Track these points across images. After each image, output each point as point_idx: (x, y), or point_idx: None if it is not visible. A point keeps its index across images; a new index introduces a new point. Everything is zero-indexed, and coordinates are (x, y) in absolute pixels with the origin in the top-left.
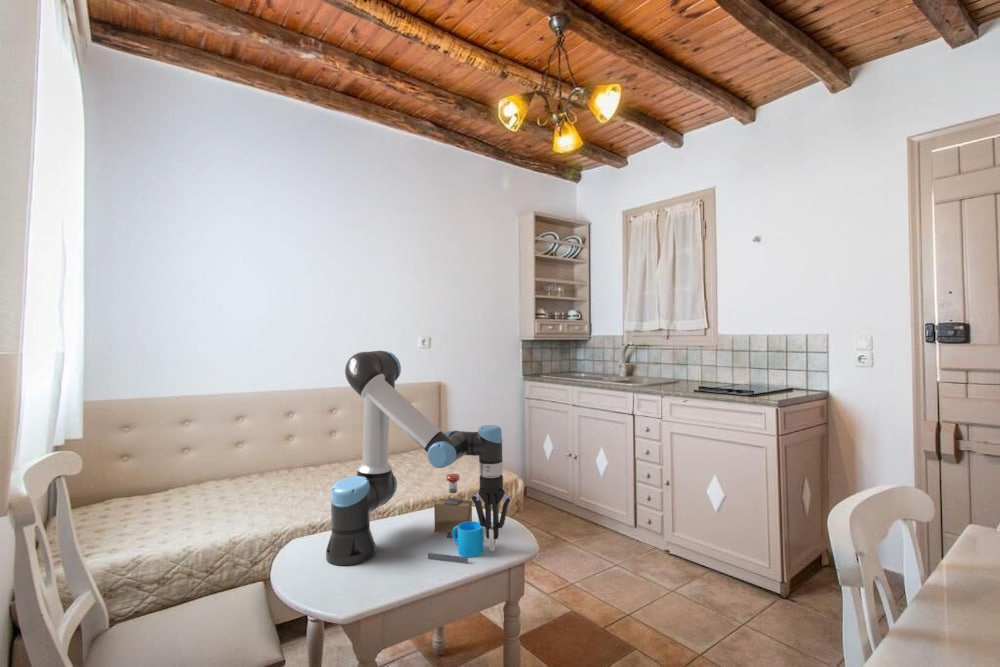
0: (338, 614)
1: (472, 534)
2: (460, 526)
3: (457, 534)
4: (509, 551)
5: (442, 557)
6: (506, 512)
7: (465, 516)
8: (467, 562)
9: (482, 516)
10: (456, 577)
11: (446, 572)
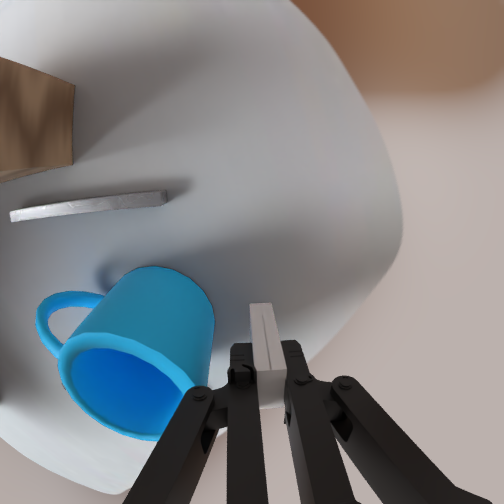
0: (107, 493)
1: None
2: (80, 394)
3: (43, 217)
4: (327, 270)
5: None
6: (408, 444)
7: (7, 171)
8: None
9: (201, 462)
10: None
11: None
